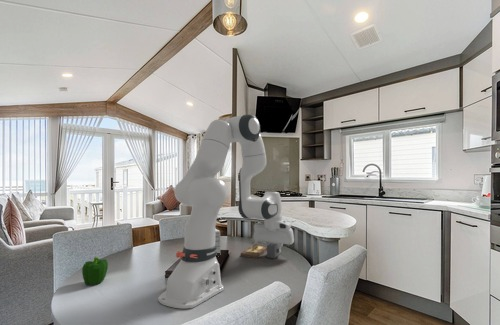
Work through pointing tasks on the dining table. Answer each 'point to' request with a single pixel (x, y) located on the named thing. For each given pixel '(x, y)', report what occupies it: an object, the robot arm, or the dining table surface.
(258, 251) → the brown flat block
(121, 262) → the dining table surface
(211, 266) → the robot arm
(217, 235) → the supplement box
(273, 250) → the block
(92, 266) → the bell pepper
